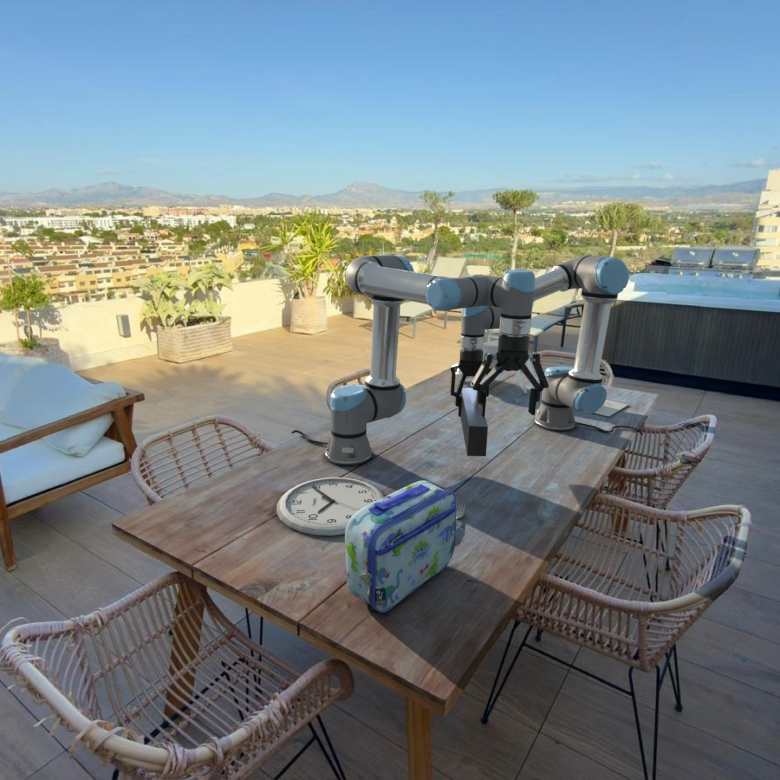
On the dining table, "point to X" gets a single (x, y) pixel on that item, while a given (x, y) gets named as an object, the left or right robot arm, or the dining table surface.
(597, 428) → the right robot arm
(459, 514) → the fork
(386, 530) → the lunch box
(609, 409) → the invitation card
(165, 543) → the dining table surface
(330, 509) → the wall clock
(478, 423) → the bar
